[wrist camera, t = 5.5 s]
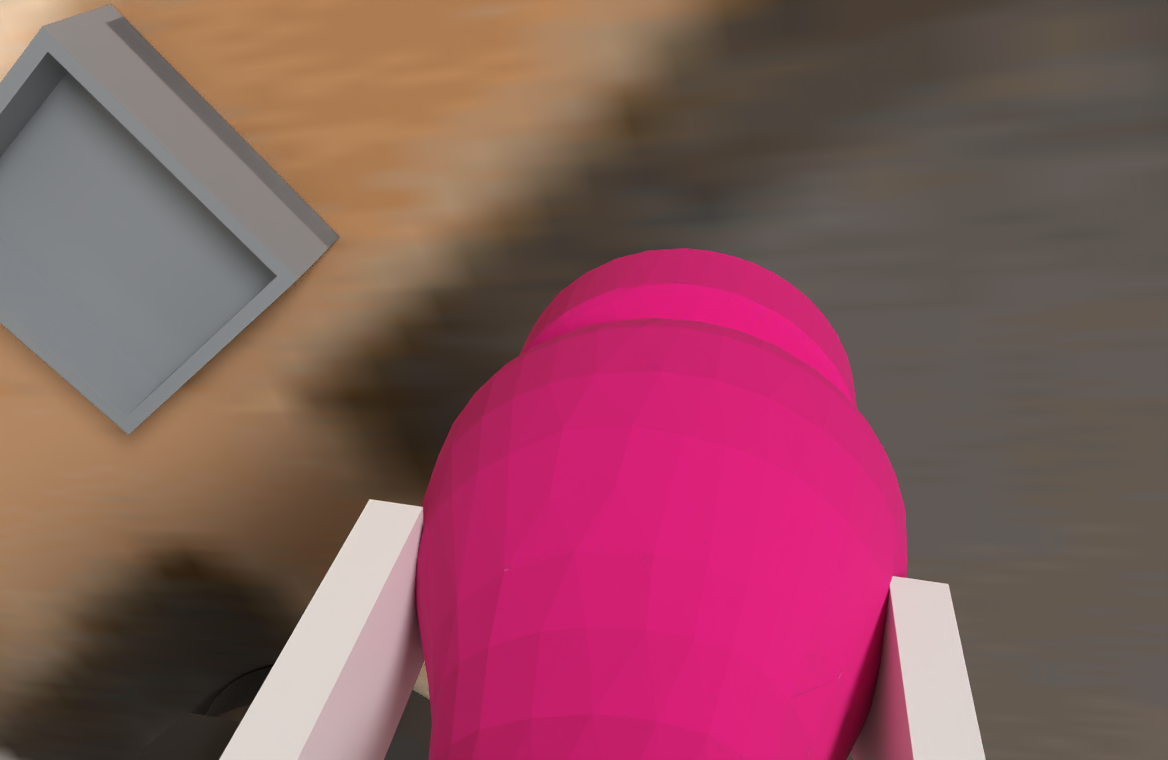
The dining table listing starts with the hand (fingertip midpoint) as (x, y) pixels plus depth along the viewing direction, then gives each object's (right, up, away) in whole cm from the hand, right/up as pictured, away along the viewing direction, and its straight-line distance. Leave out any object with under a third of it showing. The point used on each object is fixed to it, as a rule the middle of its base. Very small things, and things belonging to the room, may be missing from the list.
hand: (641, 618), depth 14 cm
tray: (-16, +9, +22) cm, 29 cm away
